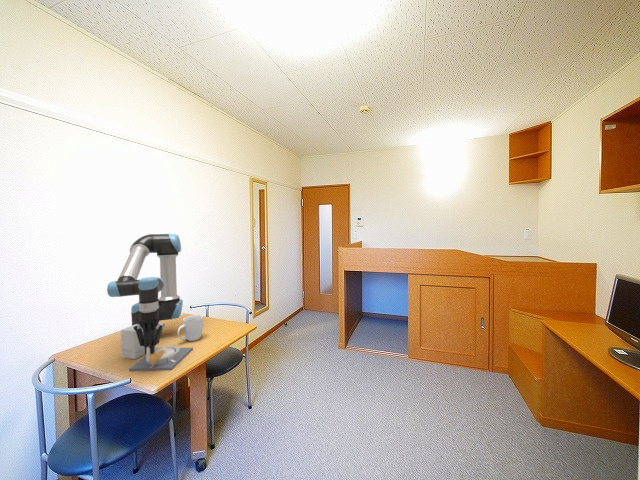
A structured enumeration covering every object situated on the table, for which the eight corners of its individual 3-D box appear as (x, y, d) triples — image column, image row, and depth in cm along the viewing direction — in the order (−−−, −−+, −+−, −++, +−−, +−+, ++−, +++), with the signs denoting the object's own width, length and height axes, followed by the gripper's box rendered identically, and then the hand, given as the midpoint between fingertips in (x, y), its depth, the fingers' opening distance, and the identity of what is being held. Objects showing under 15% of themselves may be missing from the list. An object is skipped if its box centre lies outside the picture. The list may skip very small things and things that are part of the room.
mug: (182, 347, 138) (182, 324, 137) (173, 342, 144) (172, 321, 143) (207, 337, 150) (206, 316, 150) (197, 333, 156) (196, 313, 156)
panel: (156, 350, 134) (156, 344, 134) (192, 349, 135) (192, 343, 135) (128, 371, 114) (128, 363, 114) (171, 369, 115) (171, 362, 115)
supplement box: (151, 351, 134) (150, 324, 133) (135, 359, 125) (134, 331, 124) (137, 349, 136) (136, 323, 135) (121, 357, 127) (120, 329, 126)
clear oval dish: (157, 352, 129) (156, 340, 128) (177, 350, 130) (177, 339, 130) (140, 369, 113) (139, 356, 112) (164, 367, 114) (163, 353, 114)
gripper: (129, 313, 110) (130, 364, 111) (158, 312, 111) (159, 363, 112) (139, 308, 118) (140, 356, 118) (167, 307, 119) (168, 355, 119)
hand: (149, 359), depth 115 cm, fingers closed
